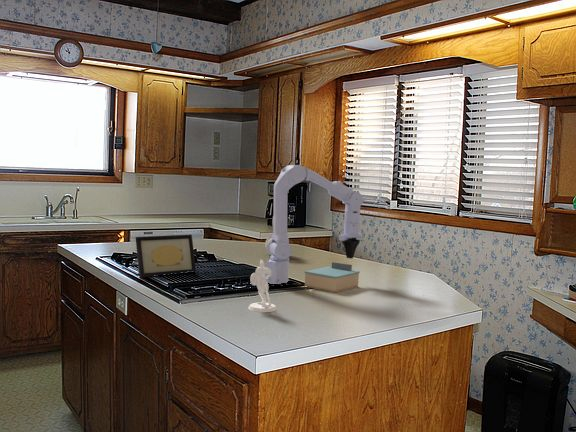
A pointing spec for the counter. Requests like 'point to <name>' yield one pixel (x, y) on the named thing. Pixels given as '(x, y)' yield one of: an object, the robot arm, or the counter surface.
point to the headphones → (269, 240)
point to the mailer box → (331, 282)
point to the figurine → (262, 289)
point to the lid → (334, 270)
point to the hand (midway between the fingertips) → (349, 258)
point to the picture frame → (165, 255)
